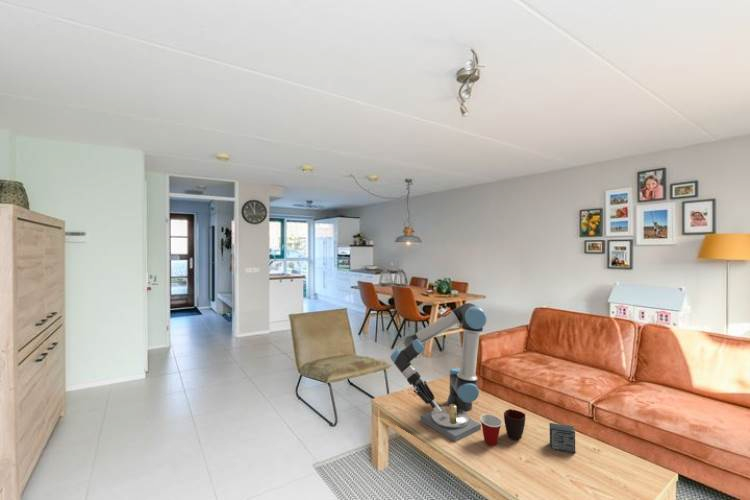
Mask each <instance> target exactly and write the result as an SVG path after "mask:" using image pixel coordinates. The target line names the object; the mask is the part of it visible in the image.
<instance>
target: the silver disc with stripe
mask: <svg viewBox="0 0 750 500" xmlns="http://www.w3.org/2000/svg"><path fill="white" fill-rule="evenodd" d="M439 407H440V408H441V411H440V412H439V413H438V414H437V413H436V411H435V410H434V409H432V410H431V411H432V421H433V422H434V423H435V424H437V425H438V426H441V427H444V428H449V429H458V428H462V427H465V426H466V425H467V424H468V422H469V418H470V416H469V414H468V413H467V411H466V412H465V411H463V410H462V409H459V408H457V406H456V405H455V404H450V406H447V405H444V407H443V406H439Z"/></svg>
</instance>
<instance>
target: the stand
mask: <svg viewBox="0 0 750 500" xmlns="http://www.w3.org/2000/svg"><path fill="white" fill-rule="evenodd" d="M444 406H445V405H444ZM444 406H443V405H442V407H444ZM432 411H433V410H431V411H429V412H426V413H424V414H421V415H420V418H419V419H420V422H421V423H423V424H425V425H426V426H428V427H430V428H432V429H433V430H435V431H437V432H438V433H440V434H442V435H444V436H445V437H447V438H449V439H450V440H452V441H453V442H455V443H456V442H458V441H461V440H462V439H465V438H467V437H469V436H470V435H473V434H475V433H477V432H479V431H481V429H482V424H481V422H478V421H476V420H474V419H472V418H471V417H469V422H468V424H467V425H466V426H465V427H462V428H458V429H449V428H444V427H441V426H438V425H437V424H435V423H434V422H433V421H432Z"/></svg>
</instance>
